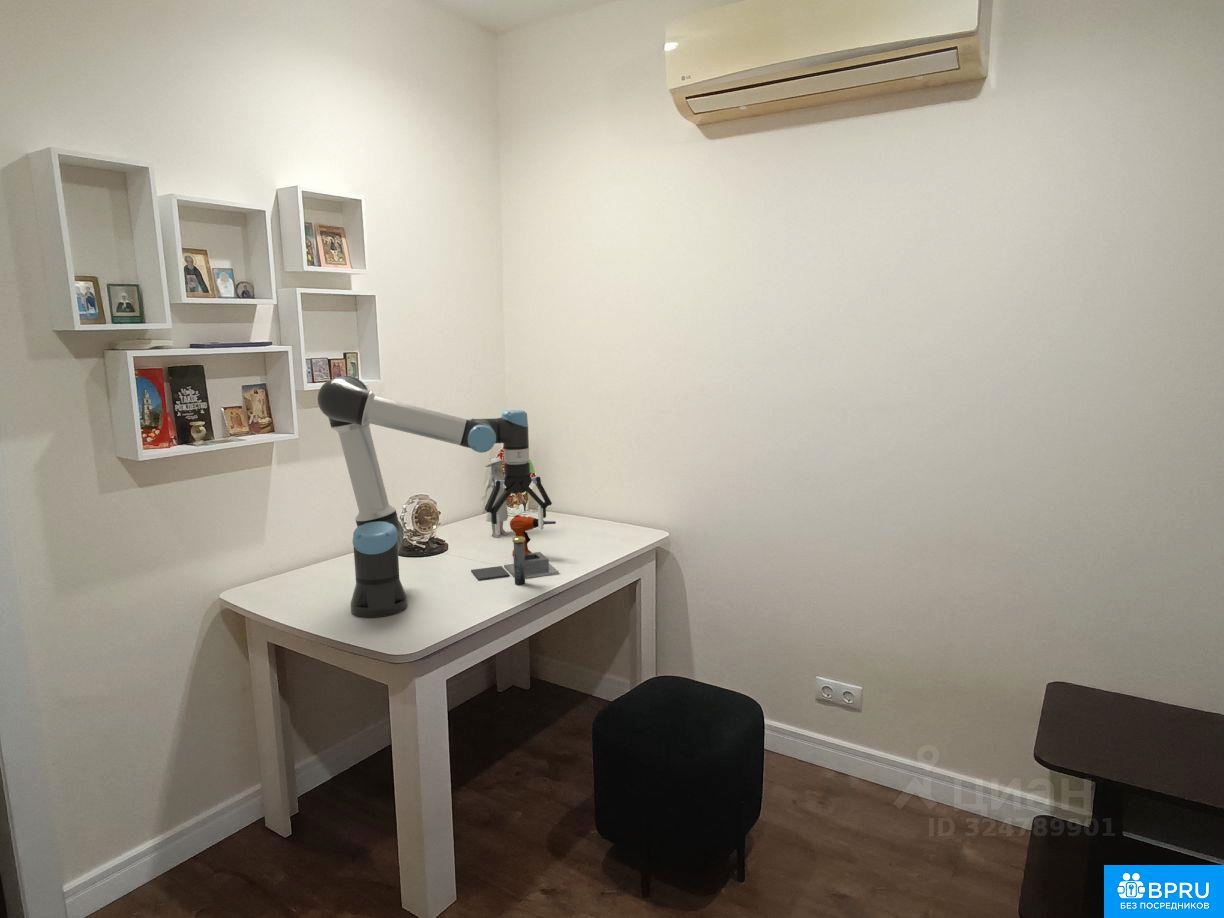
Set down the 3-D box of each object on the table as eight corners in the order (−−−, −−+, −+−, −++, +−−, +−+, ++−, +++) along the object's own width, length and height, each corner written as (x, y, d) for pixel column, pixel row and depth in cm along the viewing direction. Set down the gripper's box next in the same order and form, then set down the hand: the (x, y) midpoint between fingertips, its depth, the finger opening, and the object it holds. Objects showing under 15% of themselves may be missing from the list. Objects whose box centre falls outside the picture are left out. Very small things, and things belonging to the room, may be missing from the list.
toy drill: (556, 559, 253) (550, 515, 251) (510, 559, 261) (504, 516, 260) (563, 555, 257) (558, 512, 255) (518, 555, 266) (512, 513, 264)
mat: (478, 580, 236) (478, 578, 236) (471, 571, 245) (471, 569, 245) (509, 576, 240) (509, 574, 240) (501, 567, 249) (501, 565, 249)
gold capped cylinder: (515, 586, 231) (514, 540, 228) (512, 582, 234) (510, 537, 232) (527, 584, 232) (526, 538, 230) (524, 580, 236) (522, 535, 233)
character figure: (490, 541, 280) (487, 461, 275) (475, 538, 285) (472, 459, 280) (522, 532, 293) (520, 455, 288) (507, 529, 298) (505, 453, 293)
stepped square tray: (516, 579, 237) (515, 565, 236) (504, 567, 250) (503, 554, 249) (558, 573, 242) (558, 560, 242) (544, 562, 255) (544, 549, 254)
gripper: (478, 467, 219) (482, 539, 222) (560, 460, 229) (562, 529, 232) (472, 463, 226) (476, 533, 229) (552, 457, 235) (554, 523, 239)
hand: (519, 531), depth 231 cm, fingers open, 13 cm apart
